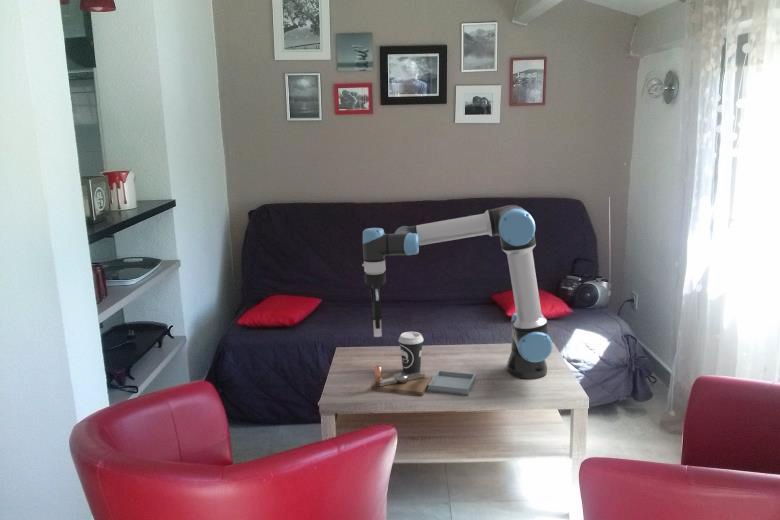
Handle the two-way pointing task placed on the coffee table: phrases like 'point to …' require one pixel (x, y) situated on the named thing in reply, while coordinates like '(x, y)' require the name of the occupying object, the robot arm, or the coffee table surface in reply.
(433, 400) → the coffee table surface
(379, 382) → the crank
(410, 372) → the coffee cup
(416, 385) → the crank base
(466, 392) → the tray
